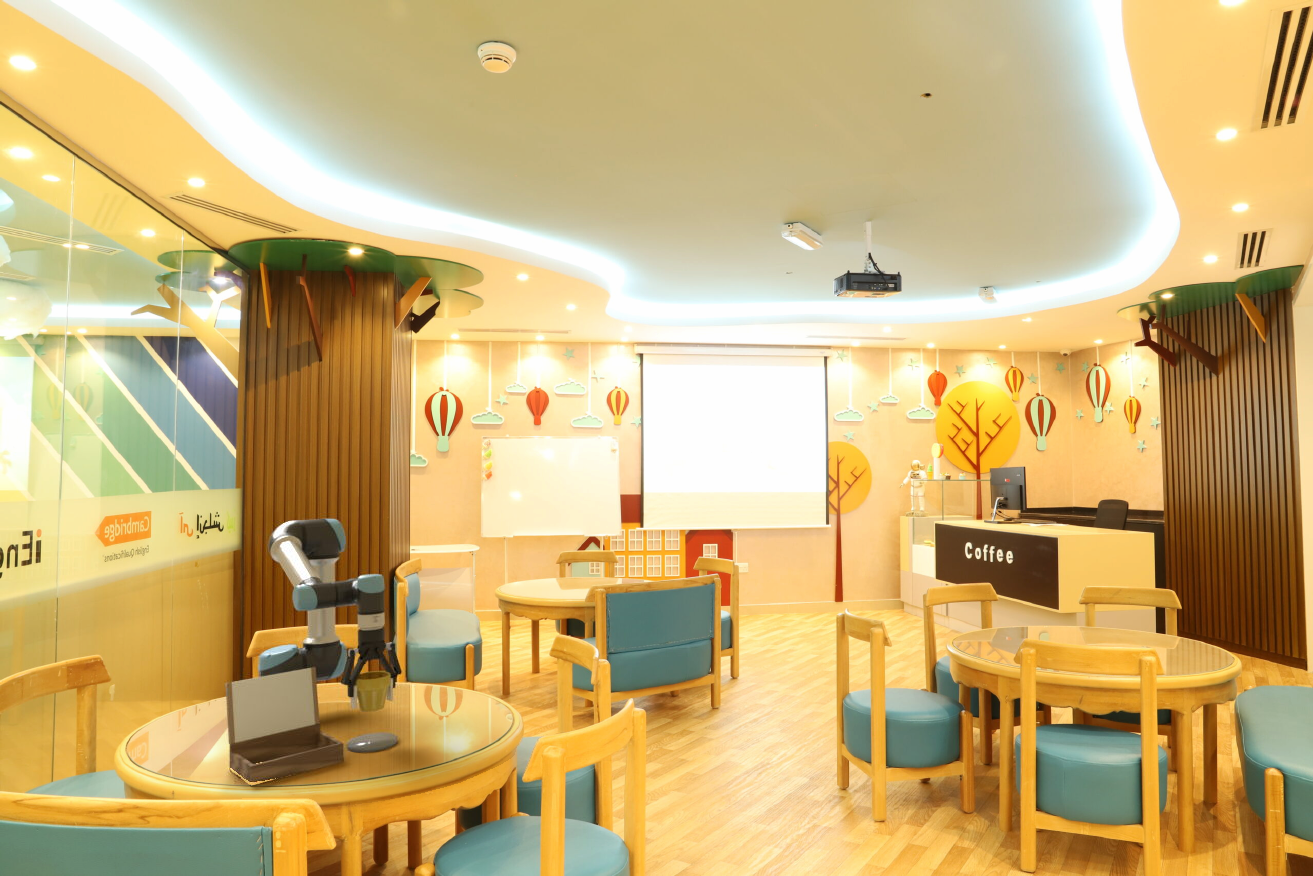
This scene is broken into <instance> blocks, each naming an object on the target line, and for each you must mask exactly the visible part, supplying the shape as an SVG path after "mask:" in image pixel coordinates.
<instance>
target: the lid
mask: <svg viewBox="0 0 1313 876" xmlns="http://www.w3.org/2000/svg"><path fill="white" fill-rule="evenodd" d="M317 682H318V681H316V667H312V668H307V669H302V670H296V671H291V672H285V673H279V674H274V675H268V676H263V677H259V676H258V677H254V678H248V679H241V680H238V681H236V680H235V681H231V682H226V683H225V694H226V695H225V698H226V699H225V701H226V715H227V720H226V721H227V737H228V738H227V739H228V745H230V744H232V743H236V742H241V741H245V740H249V739H254V738H258V737H262V736H267V735H271V734H275V733H280V732H284V731H288V730H293V729H297V728H302V727H306V726H310V725H315V724H321V723H320V711H319V710H320V709H319V700H318V699H319V697H318V683H317Z"/></svg>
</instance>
